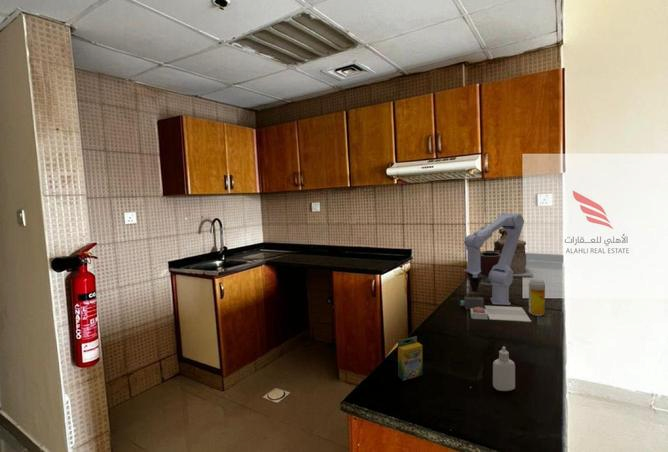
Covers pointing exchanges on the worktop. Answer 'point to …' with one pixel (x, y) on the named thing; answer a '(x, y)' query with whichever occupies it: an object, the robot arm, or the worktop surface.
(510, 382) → the eye dropper bottle
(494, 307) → the white flat slab
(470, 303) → the grey block
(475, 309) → the button
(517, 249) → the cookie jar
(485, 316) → the button housing
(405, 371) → the crayon box
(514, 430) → the worktop surface
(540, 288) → the beer glass
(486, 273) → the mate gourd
